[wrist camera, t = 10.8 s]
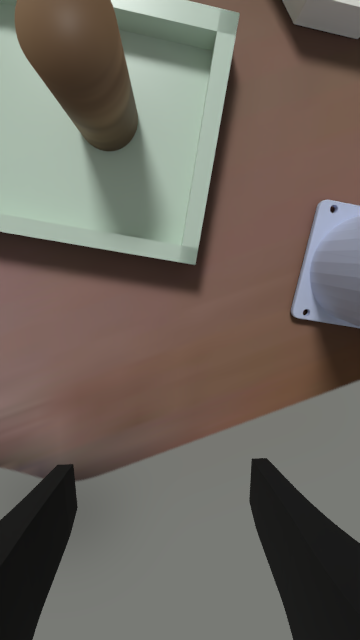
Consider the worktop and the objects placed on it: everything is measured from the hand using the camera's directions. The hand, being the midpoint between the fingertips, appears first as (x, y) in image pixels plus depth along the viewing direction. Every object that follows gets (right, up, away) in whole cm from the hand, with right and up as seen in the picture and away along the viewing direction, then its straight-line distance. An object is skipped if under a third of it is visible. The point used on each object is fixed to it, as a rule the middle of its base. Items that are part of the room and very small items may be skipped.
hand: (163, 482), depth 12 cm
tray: (-5, +18, +6) cm, 20 cm away
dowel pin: (-4, +18, +6) cm, 20 cm away
